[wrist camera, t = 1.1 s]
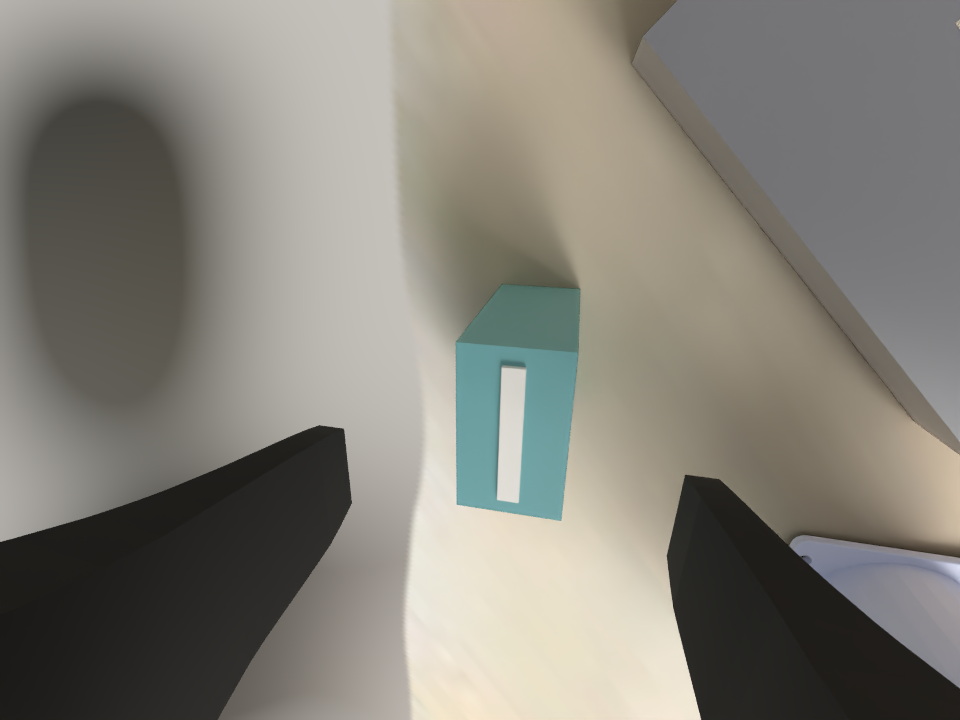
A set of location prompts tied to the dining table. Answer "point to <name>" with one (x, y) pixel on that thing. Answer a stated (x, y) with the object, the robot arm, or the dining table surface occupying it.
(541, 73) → the dining table surface
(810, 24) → the keyed socket
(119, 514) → the robot arm
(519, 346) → the keyed peg
